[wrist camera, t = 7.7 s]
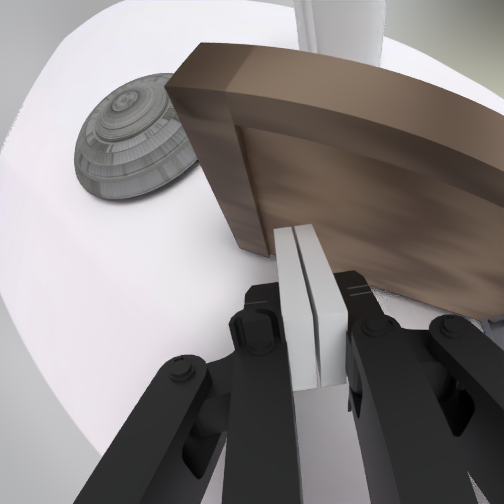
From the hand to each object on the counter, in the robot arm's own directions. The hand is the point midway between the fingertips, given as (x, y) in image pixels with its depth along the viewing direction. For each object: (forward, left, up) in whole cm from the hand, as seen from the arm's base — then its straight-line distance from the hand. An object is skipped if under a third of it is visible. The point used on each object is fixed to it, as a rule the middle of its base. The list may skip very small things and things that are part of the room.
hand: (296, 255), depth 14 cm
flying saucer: (0, -20, -8) cm, 21 cm away
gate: (-5, +3, -6) cm, 8 cm away
